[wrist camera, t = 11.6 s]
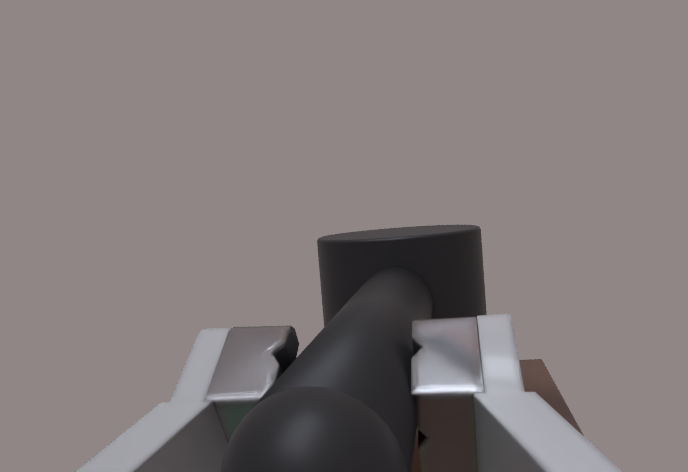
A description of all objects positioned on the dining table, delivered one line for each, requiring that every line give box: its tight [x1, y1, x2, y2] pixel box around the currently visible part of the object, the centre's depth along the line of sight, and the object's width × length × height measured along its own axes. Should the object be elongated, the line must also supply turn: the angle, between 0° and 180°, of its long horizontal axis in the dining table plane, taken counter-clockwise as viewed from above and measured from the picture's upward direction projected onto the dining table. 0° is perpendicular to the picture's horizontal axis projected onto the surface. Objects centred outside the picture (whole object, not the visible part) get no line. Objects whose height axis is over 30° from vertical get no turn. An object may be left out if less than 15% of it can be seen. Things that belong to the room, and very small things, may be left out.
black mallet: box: [221, 225, 486, 472], centre depth 14 cm, size 17×5×3 cm, turn 171°
